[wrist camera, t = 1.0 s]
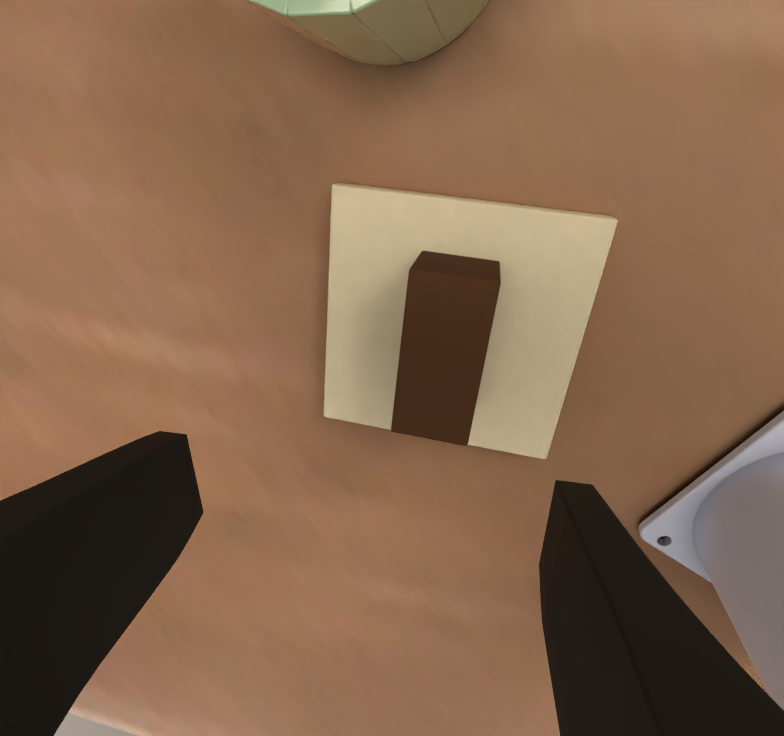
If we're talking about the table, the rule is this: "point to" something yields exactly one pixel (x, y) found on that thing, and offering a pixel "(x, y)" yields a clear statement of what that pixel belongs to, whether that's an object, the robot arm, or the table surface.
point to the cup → (376, 25)
